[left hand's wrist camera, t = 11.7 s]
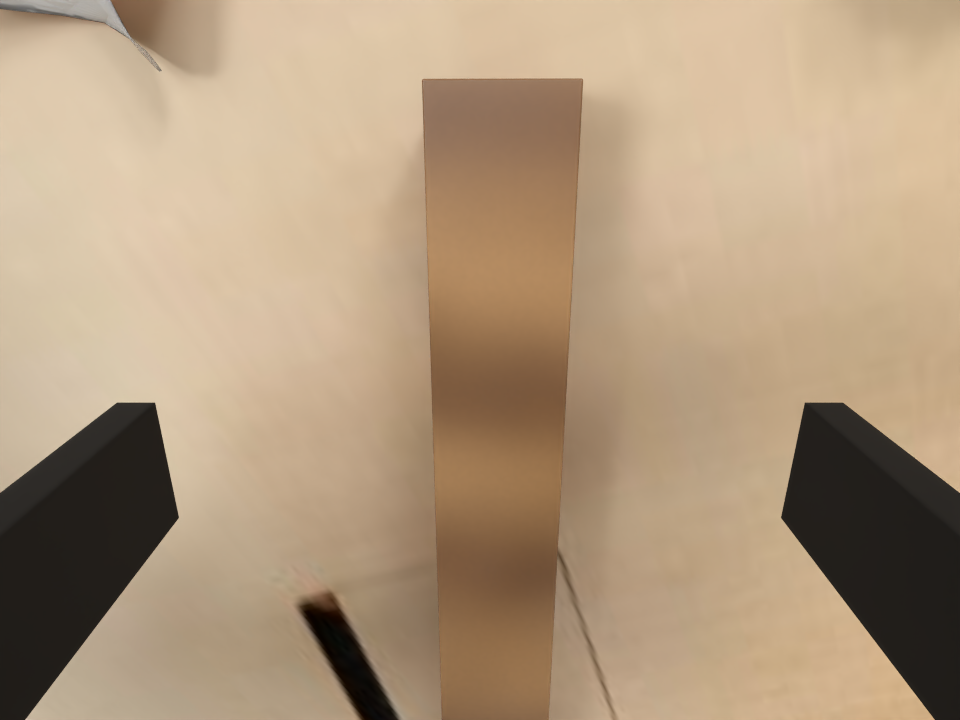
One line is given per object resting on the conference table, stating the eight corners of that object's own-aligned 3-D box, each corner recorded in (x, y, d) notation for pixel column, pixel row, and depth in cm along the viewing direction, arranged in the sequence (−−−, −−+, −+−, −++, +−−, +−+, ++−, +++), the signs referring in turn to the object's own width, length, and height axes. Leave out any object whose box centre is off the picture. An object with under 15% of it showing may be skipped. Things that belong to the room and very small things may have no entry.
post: (443, 90, 26) (421, 79, 19) (559, 90, 26) (583, 78, 19) (459, 913, 47) (452, 1063, 40) (524, 915, 47) (529, 1066, 39)
